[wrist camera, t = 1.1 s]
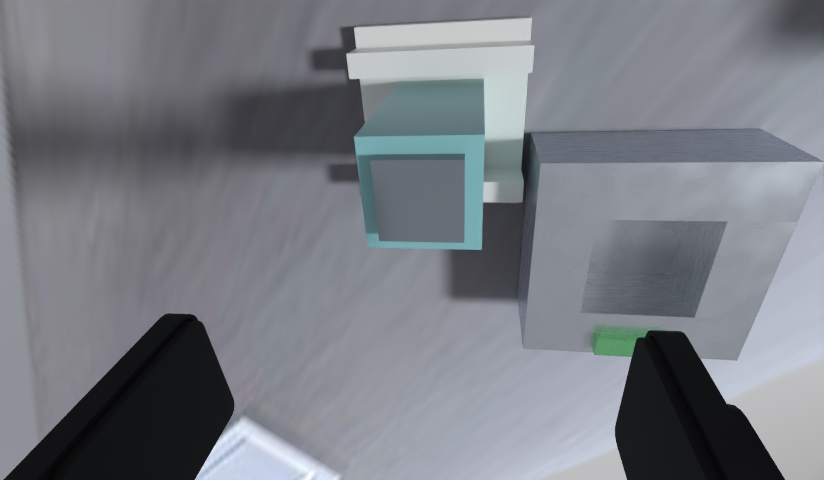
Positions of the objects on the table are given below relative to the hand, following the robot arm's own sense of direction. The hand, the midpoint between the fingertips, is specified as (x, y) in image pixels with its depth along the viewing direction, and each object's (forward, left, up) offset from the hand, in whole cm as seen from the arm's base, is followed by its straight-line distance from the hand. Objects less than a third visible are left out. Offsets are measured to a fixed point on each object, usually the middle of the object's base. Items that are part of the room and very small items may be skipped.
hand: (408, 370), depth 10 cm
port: (+6, +10, -19) cm, 22 cm away
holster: (-1, -1, -19) cm, 19 cm away
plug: (-1, -1, -18) cm, 18 cm away
